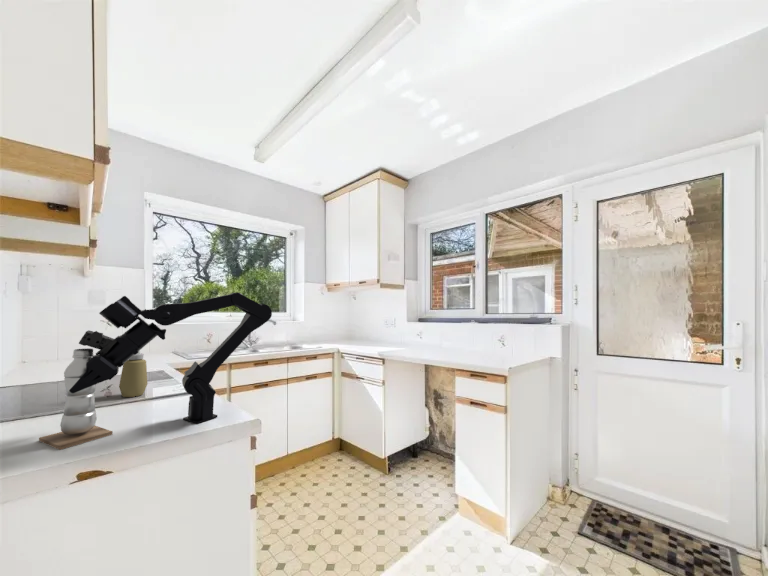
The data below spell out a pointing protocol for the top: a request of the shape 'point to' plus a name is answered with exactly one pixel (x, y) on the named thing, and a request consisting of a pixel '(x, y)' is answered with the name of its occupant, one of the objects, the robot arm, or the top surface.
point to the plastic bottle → (78, 397)
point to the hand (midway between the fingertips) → (73, 389)
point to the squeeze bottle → (133, 376)
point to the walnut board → (74, 438)
